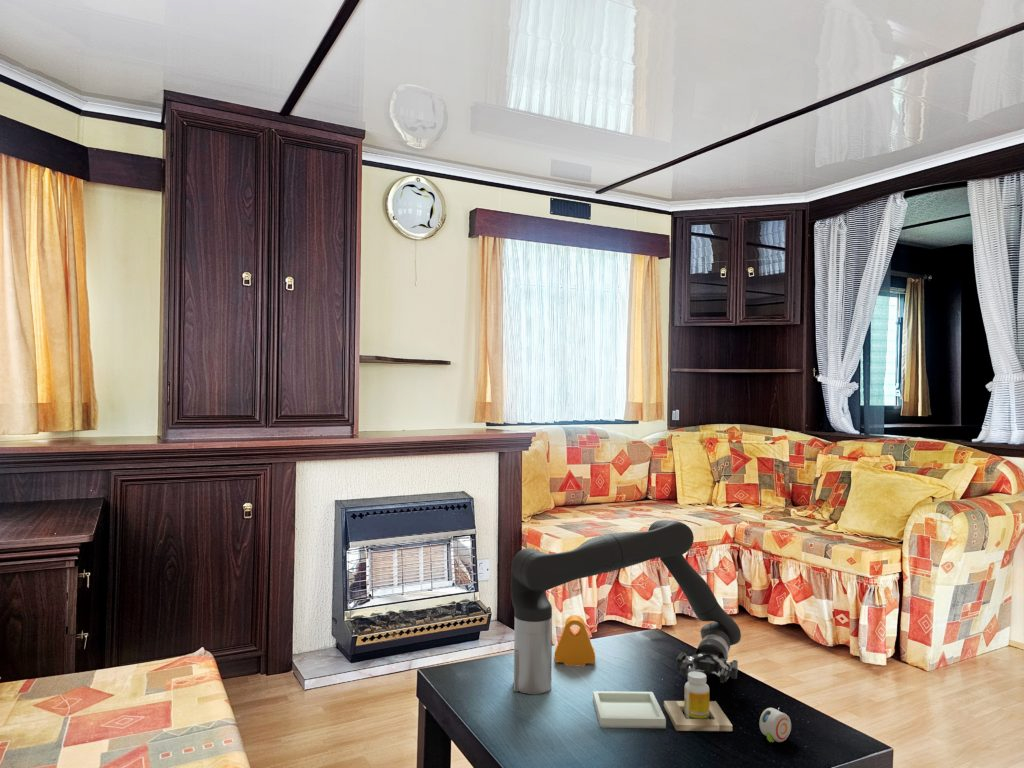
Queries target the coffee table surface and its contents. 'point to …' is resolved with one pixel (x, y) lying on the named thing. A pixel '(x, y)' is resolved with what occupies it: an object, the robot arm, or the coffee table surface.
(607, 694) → the tray
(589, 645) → the bracket
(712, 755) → the coffee table surface
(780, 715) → the roller toy
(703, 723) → the holder board
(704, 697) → the supplement bottle
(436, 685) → the coffee table surface
